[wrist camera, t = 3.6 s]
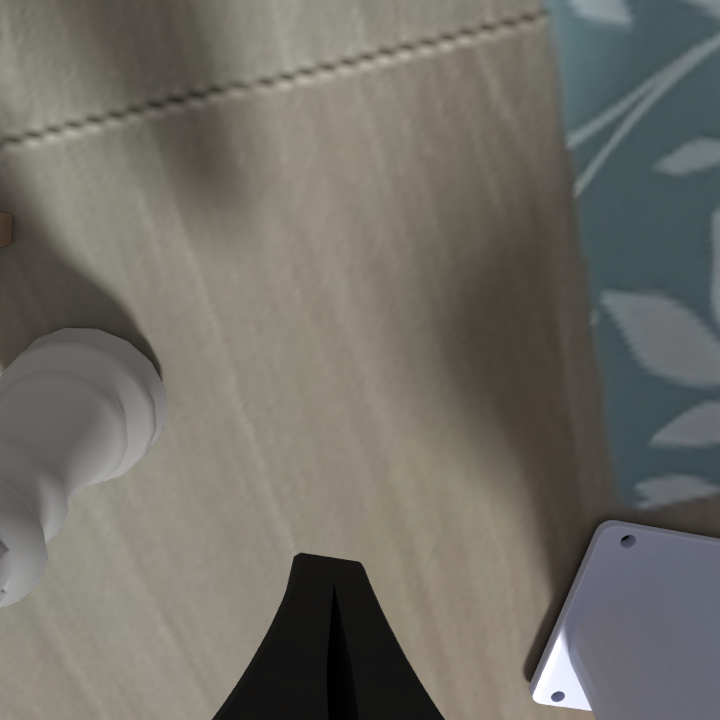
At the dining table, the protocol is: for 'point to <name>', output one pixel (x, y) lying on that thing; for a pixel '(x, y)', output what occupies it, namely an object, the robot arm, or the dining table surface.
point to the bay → (5, 229)
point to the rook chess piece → (66, 437)
